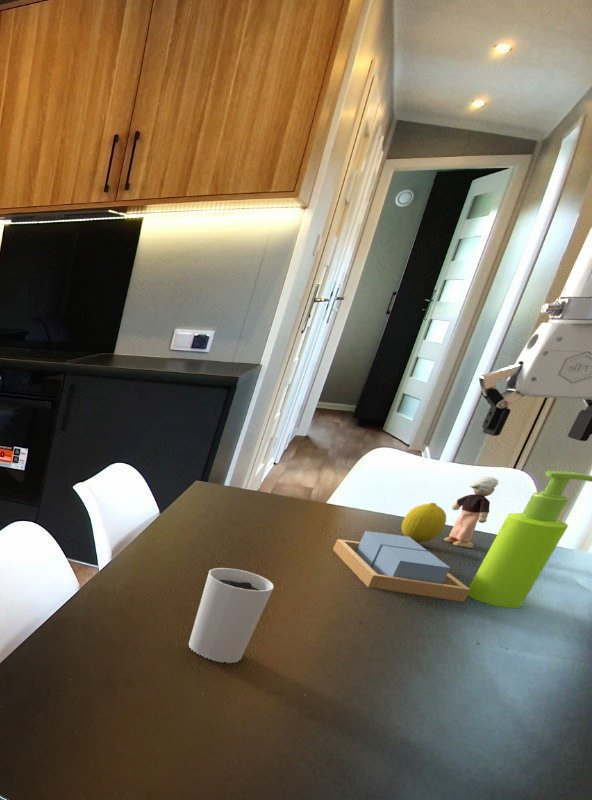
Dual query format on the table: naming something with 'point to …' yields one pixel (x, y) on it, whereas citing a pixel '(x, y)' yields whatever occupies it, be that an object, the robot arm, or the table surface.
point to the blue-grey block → (410, 564)
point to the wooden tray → (446, 590)
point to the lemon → (424, 522)
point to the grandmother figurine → (472, 511)
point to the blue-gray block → (375, 541)
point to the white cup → (228, 613)
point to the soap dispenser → (523, 546)
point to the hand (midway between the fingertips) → (532, 436)
